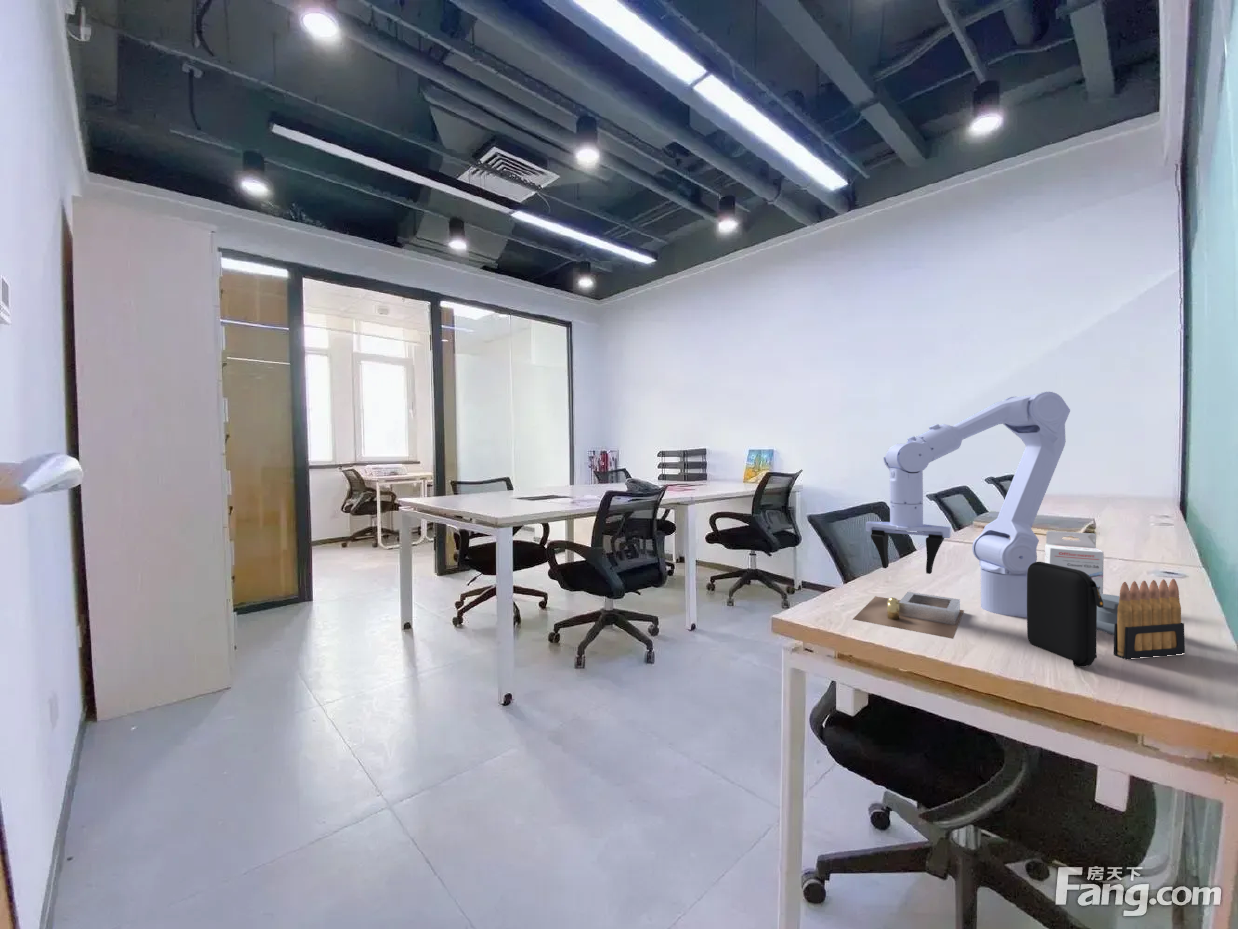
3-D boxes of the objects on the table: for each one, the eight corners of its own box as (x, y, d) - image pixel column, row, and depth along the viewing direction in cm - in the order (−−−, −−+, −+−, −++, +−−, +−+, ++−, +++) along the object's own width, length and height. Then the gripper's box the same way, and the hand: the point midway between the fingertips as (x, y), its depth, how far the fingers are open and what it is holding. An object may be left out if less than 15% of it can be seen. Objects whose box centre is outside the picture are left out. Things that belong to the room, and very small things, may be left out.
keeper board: (963, 615, 96) (963, 610, 96) (952, 644, 83) (952, 638, 83) (875, 600, 107) (875, 596, 107) (852, 624, 93) (852, 619, 93)
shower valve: (1139, 614, 81) (1047, 589, 96) (1139, 646, 81) (1047, 616, 96) (1198, 608, 83) (1099, 584, 98) (1198, 639, 83) (1098, 611, 98)
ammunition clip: (1126, 660, 75) (1126, 583, 75) (1112, 655, 77) (1112, 580, 77) (1185, 655, 76) (1186, 580, 76) (1170, 650, 78) (1171, 577, 78)
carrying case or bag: (1110, 674, 71) (1110, 574, 70) (1092, 676, 70) (1093, 575, 70) (1037, 645, 81) (1036, 558, 81) (1021, 647, 81) (1021, 559, 80)
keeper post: (900, 617, 93) (900, 597, 93) (898, 620, 91) (897, 599, 91) (888, 615, 94) (888, 595, 94) (886, 618, 93) (886, 598, 93)
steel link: (960, 611, 95) (959, 599, 95) (954, 625, 89) (954, 611, 89) (907, 603, 101) (907, 591, 101) (898, 615, 94) (898, 602, 94)
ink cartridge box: (1048, 602, 103) (1048, 533, 102) (1043, 596, 107) (1043, 530, 107) (1104, 608, 98) (1104, 536, 98) (1096, 601, 103) (1096, 532, 102)
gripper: (861, 502, 99) (862, 568, 99) (946, 506, 89) (947, 579, 89) (870, 499, 104) (871, 562, 104) (951, 503, 94) (952, 571, 95)
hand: (906, 569), depth 97 cm, fingers open, 7 cm apart
